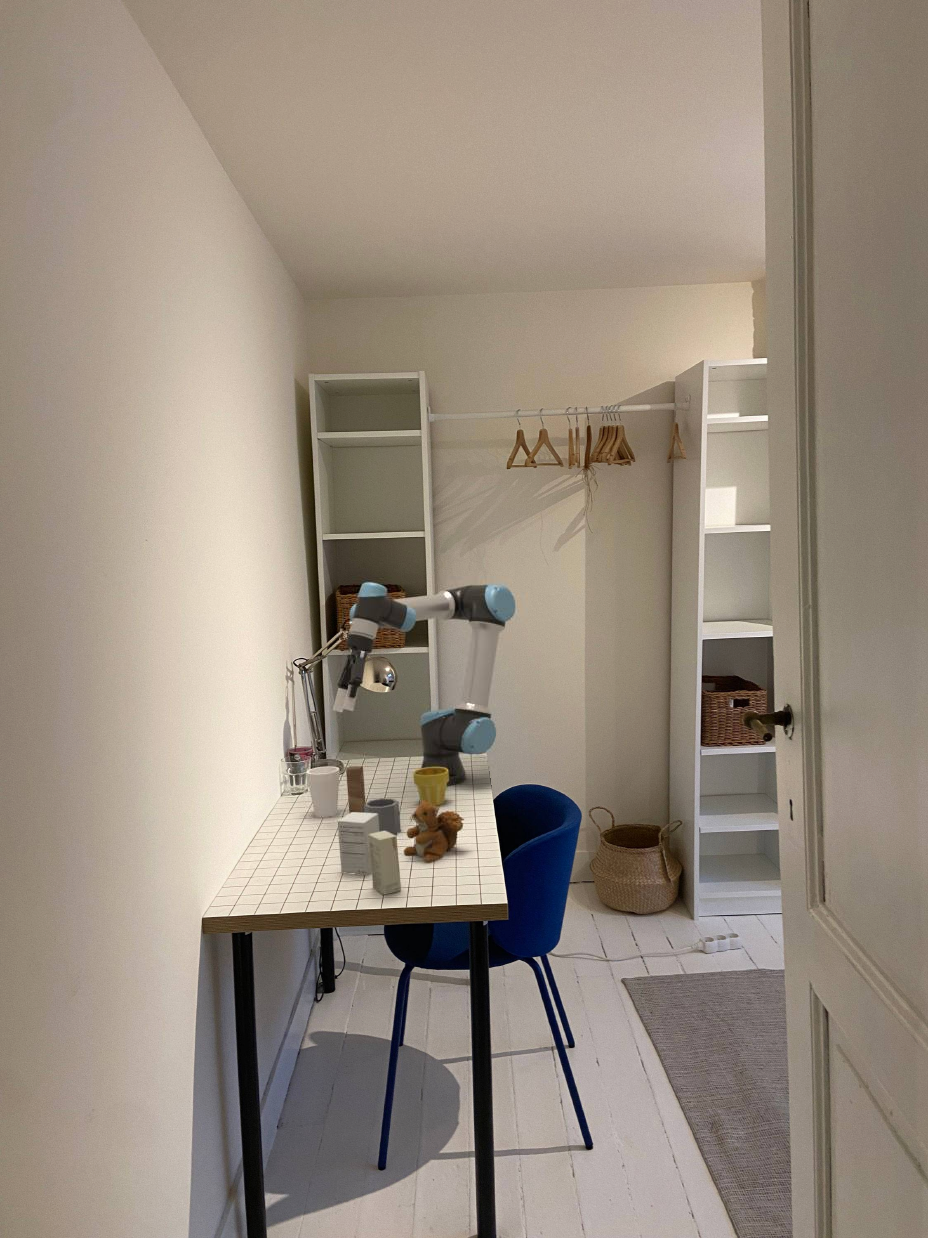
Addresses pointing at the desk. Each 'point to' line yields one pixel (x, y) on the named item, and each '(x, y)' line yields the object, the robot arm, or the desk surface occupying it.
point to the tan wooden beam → (355, 789)
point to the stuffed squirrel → (433, 832)
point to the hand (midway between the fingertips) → (342, 710)
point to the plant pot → (432, 784)
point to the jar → (385, 814)
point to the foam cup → (324, 790)
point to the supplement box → (356, 841)
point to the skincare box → (384, 862)
